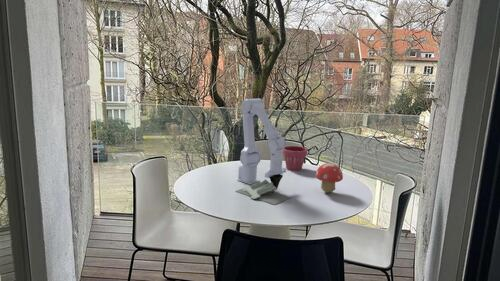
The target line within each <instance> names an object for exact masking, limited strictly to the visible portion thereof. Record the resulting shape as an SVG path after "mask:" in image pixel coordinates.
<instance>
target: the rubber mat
mask: <svg viewBox="0 0 500 281" xmlns="http://www.w3.org/2000/svg"><path fill="white" fill-rule="evenodd" d="M250 187H251V185H250ZM244 188H245V187H244ZM244 188H239V189H237V190H235V192H236V193H238V192H239V194H242V195H244V196H247V197H251V195H250V194H249V193H248V192H247V191H243V189H244ZM274 192H275V191H274ZM274 192H272V191H269V192H266V193H263V194H261V195H260V196H261V197H259V198H256V200H259V201H261V202H264V203H266V204H270V205H273V206H275V205H278V204H280V203H283V202H285V201H288V200H290V199H292V197H291V196H287V195H286V194H285V195H284V194H282V193H278V192H275V193H274Z"/></svg>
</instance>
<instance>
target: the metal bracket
mask: <svg viewBox="0 0 500 281" xmlns="http://www.w3.org/2000/svg"><path fill="white" fill-rule="evenodd" d="M250 186H251V187H250ZM250 186H249V185H247V186H244V189H243V188H242V189H243V191H247V192H248V193H249V194H250V195H251V197H250V196H249V197H250V199H252V200H253V199H254V200H255V199H256V198H259V197H261V196H260V195H261V194H263V193H266V192H269V191H272V192H274V193H275V189H276V187H275V186H274V185H273V182H271V181H270V182H269V181H268V180H267V179H264V180H263V181H259V182H256V183H253V184H250ZM276 190H277V189H276ZM256 200H257V199H256Z"/></svg>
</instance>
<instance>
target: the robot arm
mask: <svg viewBox="0 0 500 281" xmlns="http://www.w3.org/2000/svg"><path fill="white" fill-rule="evenodd" d="M265 105H266V104H265V103H264V100H263V99H262V98H245V99H244V100H243V101H242V102H241V112H242V114H241V115H242V125H243V127H242V128H243V129H242V130H243V140H244V142H243V143H244V148H242V150H241V151H240V157H239V159H240V163H241V164H240V165H239V167H238V173H237V174H238V175H237V176H238V178H237V181H238V182H242V183H245V184H248V185H252V184H255V183H258V182H261V181H260V180H259V179H257V172H258V165H259V163H260V162H261V159H262V158H261V154H260V151H259V149H258V148H257V147H256V142H255V140H256V139H255V127H254V116H255V115H256V116H257V117H258V118H259V120H260V122H261V124H262V125H263V126H264V128H263V132H264V134H265V136H266V137H267V139H268V141H269V143H268V147H269V150H270V151H269V152H270V166H269V170H268V171H267V172H265V173H264V178H267V179H269V181H270V183H271V182H273V185H274V186H275V187H276V189H275V190H278V188H279V185H280V182H281V180H282V179H283V176H284V175H283V174H284V173H287V168H286V167H283V157H284V155H283V149H284V148H285V147H286V146H287V142H286V139H285V138H284V137H283V136H281V135H280V133H279V132H278V130H277V127H276V126H275V125H274V124H273V123H271V121H270V118H269V117H268V115H267V114H268V113H267V112H266V109H265V108H266V107H265ZM275 190H274V191H275Z"/></svg>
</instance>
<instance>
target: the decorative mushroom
mask: <svg viewBox="0 0 500 281" xmlns="http://www.w3.org/2000/svg"><path fill="white" fill-rule="evenodd" d="M315 178H316V179H317V180H319V181H321V183H320V184H321V185H320V189H321V190H322V191H323V192H324V193H327V194H330V193H332V192H334V191H335V190H336V183H339V182H341V181H343V179H344V175H343V171H342V169H341V168H340V166H338V165H336V164H334V163H331V162H328V163H323V164H322V165H319V167H318V168H317V169H316V171H315Z"/></svg>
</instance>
